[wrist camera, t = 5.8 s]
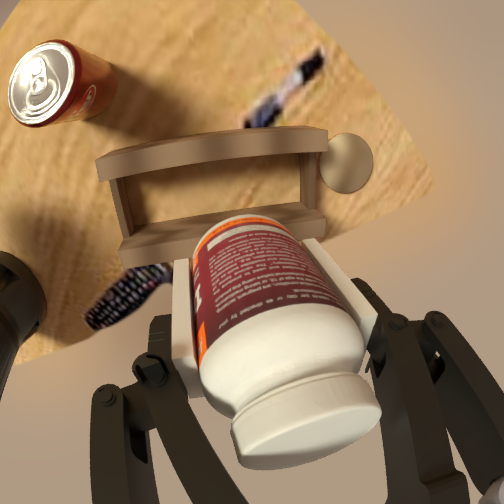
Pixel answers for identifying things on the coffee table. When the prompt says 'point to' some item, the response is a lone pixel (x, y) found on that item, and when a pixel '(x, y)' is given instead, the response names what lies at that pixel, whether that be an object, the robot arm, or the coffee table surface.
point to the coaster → (346, 163)
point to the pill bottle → (276, 347)
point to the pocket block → (194, 228)
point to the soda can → (60, 85)
